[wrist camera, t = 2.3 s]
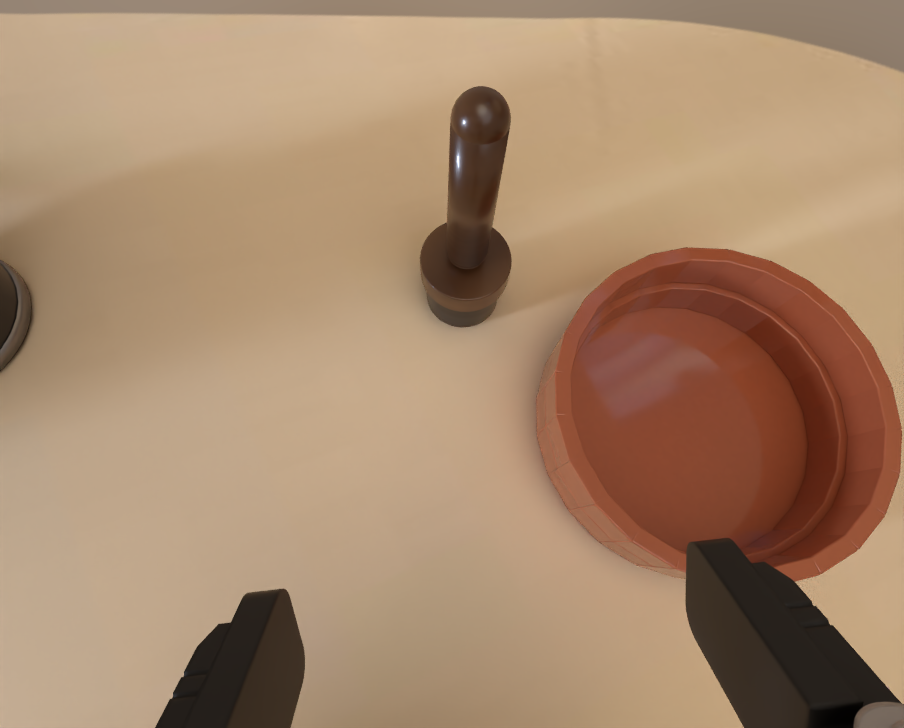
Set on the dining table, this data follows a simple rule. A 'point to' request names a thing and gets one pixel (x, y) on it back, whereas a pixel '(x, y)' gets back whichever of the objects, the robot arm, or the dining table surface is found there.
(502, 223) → the dining table surface
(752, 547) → the basin
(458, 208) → the tamper
